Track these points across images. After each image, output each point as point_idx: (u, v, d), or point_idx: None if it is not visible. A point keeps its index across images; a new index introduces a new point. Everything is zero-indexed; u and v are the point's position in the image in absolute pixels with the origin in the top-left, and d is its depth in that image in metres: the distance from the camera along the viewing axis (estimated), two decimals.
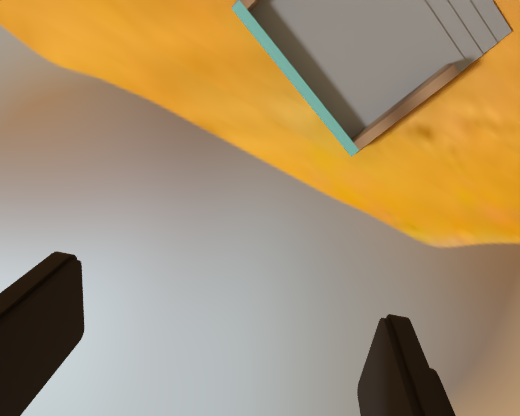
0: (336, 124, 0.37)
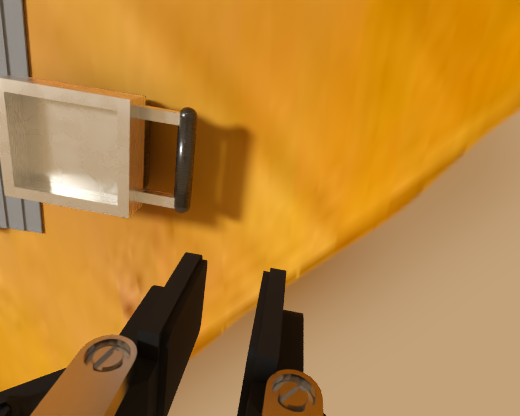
0: None
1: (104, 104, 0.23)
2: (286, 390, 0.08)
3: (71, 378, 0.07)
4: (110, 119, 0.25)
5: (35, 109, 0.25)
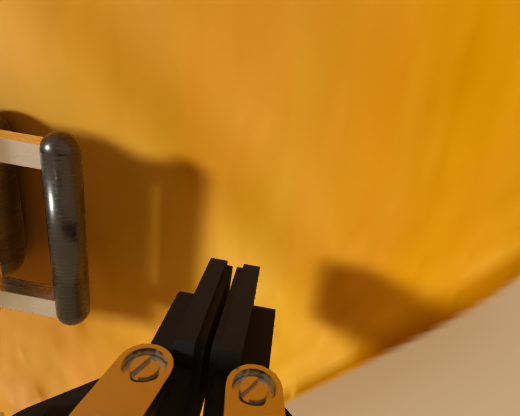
0: None
1: None
2: (246, 385, 0.08)
3: (111, 389, 0.07)
4: None
5: None
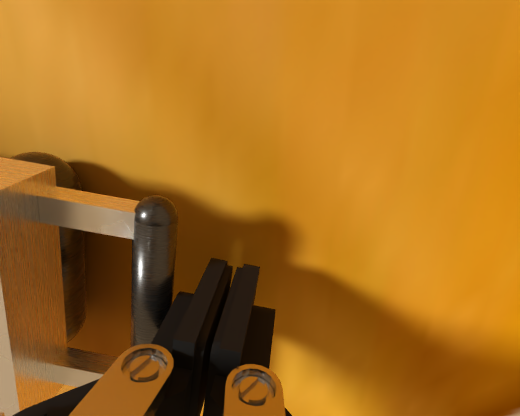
0: None
1: None
2: (246, 385, 0.08)
3: (111, 389, 0.07)
4: None
5: None
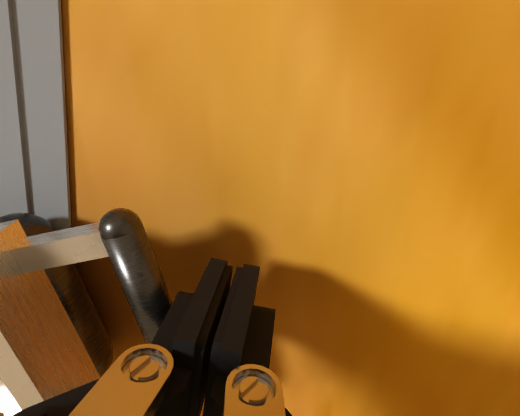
0: None
1: None
2: (246, 385, 0.08)
3: (111, 389, 0.07)
4: None
5: None
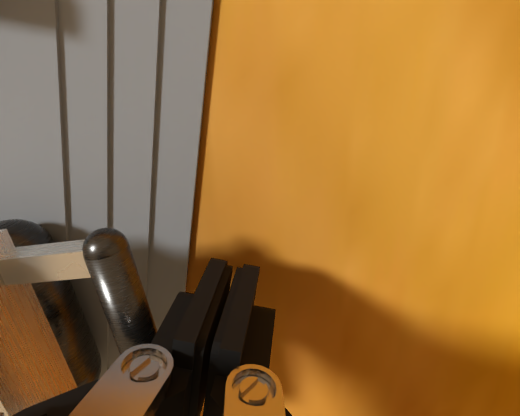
0: None
1: None
2: (246, 385, 0.08)
3: (111, 389, 0.07)
4: None
5: None
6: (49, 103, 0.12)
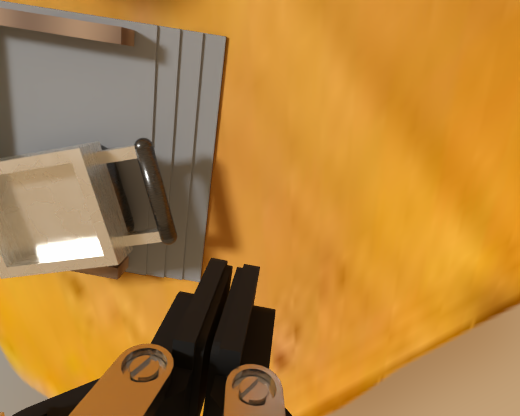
0: None
1: (58, 160, 0.23)
2: (246, 385, 0.08)
3: (111, 389, 0.07)
4: (73, 174, 0.25)
5: (5, 187, 0.26)
6: (149, 93, 0.26)
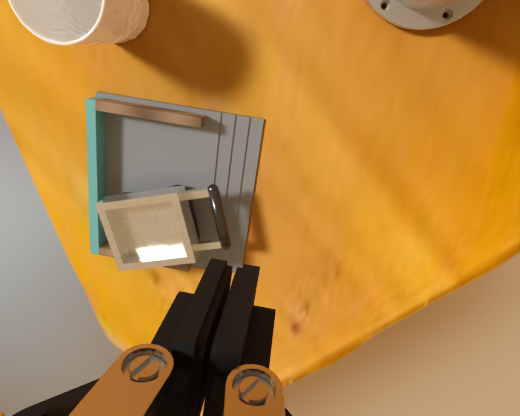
0: (96, 228, 0.43)
1: (163, 199, 0.37)
2: (246, 385, 0.08)
3: (111, 389, 0.07)
4: (167, 205, 0.39)
5: (122, 213, 0.40)
6: (213, 153, 0.40)
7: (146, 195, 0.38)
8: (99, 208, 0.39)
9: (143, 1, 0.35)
